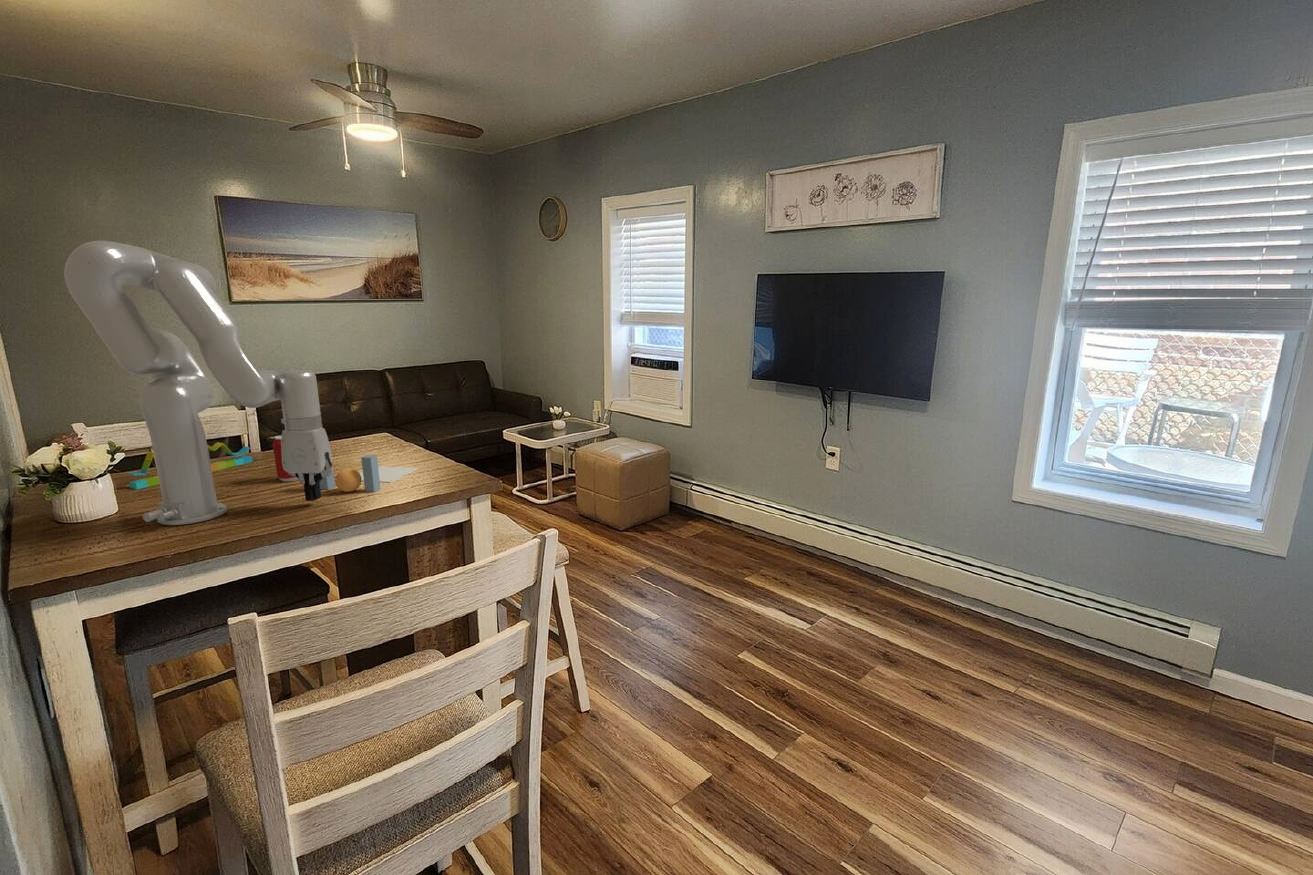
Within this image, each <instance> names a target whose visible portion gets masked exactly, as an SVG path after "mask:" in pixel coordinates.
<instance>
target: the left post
mask: <svg viewBox="0 0 1313 875" xmlns="http://www.w3.org/2000/svg"><path fill="white" fill-rule="evenodd" d="M331 471H332V475H330V476H328V477H324V478H323V479H322V481H321V482H319V483H320V490H325V491H327V490H328V491H329V490H331V489H333V488H335V487H336V486H335V485H336V483H335V478H334V476H335V475H334V468H333V467H332V468H331ZM322 472H323V470H322Z"/></svg>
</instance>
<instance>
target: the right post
mask: <svg viewBox="0 0 1313 875" xmlns="http://www.w3.org/2000/svg"><path fill="white" fill-rule="evenodd" d="M360 459H361V467H362V471H363V478H364V481H363V485H364V491H365V492H366V493H367V492H368V493H370V492H371V493H376V492H377V491H379V490H381V482H380V480H379V471H378V466H379V464H378V455H376V454H375V455H374V454H366V455H363V456H361V458H360Z"/></svg>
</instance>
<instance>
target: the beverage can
mask: <svg viewBox="0 0 1313 875" xmlns="http://www.w3.org/2000/svg"><path fill="white" fill-rule="evenodd" d="M281 437H282V434H281V435H277V436H275V437H274V440H273V442H272V448H273V450H272V451H273V455H274V463H275V470H276V477H277V479H279V480H280V481H281V482H294V481H298V480H299V479H298V478H297V477H296V476H292V475H289V474H288V472H286V471H285V470H284V469H283V465H282V455H281ZM299 481H300V480H299Z"/></svg>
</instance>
